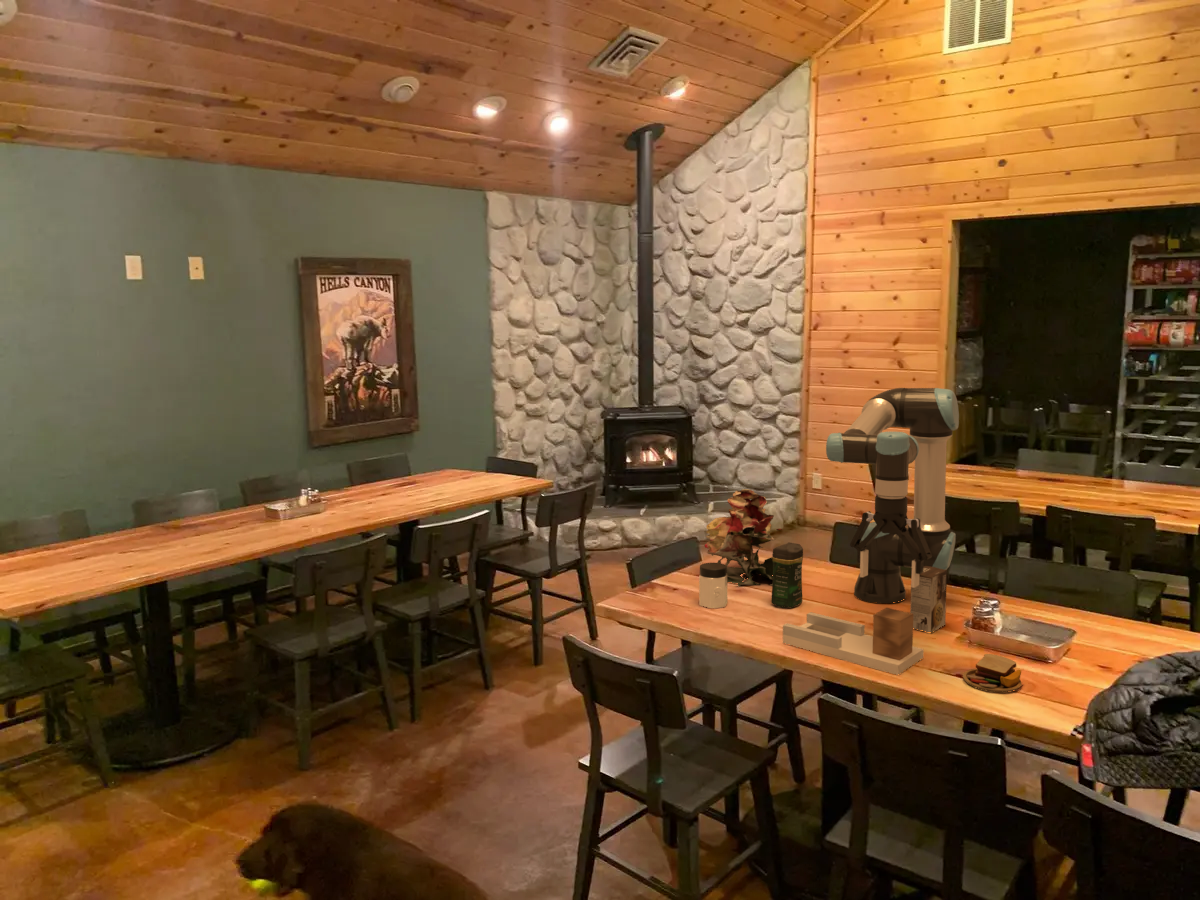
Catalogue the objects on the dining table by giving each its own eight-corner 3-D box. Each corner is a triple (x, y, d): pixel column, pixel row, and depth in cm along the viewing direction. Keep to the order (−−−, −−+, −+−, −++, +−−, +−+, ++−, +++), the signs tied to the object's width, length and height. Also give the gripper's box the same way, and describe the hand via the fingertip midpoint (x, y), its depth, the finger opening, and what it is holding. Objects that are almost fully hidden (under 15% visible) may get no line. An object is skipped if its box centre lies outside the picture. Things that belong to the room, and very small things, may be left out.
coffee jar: (791, 610, 255) (791, 549, 252) (767, 605, 260) (767, 545, 257) (806, 602, 262) (807, 543, 260) (783, 597, 267) (784, 539, 265)
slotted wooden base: (923, 658, 217) (923, 639, 216) (898, 675, 207) (898, 655, 206) (810, 629, 239) (810, 612, 238) (782, 643, 229) (782, 625, 228)
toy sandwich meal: (951, 682, 203) (952, 662, 203) (983, 667, 211) (984, 649, 210) (1002, 699, 193) (1003, 679, 192) (1034, 684, 201) (1035, 664, 200)
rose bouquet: (768, 563, 306) (769, 480, 302) (793, 587, 277) (794, 496, 273) (697, 566, 304) (696, 482, 300) (714, 591, 275) (714, 498, 271)
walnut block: (912, 652, 214) (913, 613, 213) (899, 660, 209) (900, 620, 208) (885, 645, 219) (886, 607, 218) (872, 653, 214) (873, 614, 213)
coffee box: (923, 620, 244) (925, 565, 242) (946, 625, 240) (948, 569, 238) (908, 628, 238) (910, 572, 236) (931, 634, 234) (933, 576, 231)
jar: (703, 610, 257) (703, 570, 256) (694, 601, 265) (694, 563, 264) (732, 607, 259) (732, 568, 258) (722, 599, 267) (722, 561, 266)
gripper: (948, 499, 204) (945, 587, 207) (852, 487, 221) (850, 568, 224) (934, 504, 199) (931, 594, 202) (837, 492, 216) (835, 575, 219)
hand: (888, 581), depth 213 cm, fingers open, 13 cm apart
